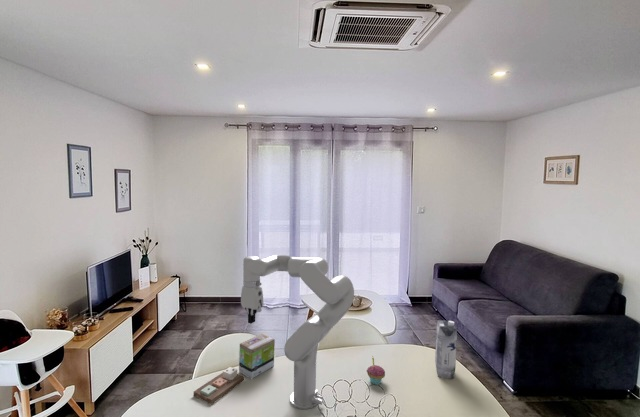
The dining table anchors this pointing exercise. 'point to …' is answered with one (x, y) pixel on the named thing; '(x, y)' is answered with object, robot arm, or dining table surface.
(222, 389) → the tile board
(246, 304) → the robot arm
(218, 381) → the pink three-dot die face
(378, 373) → the cupcake
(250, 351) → the tea box
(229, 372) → the two-pip tile
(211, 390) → the pale grey square block
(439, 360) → the juice carton
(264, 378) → the dining table surface
